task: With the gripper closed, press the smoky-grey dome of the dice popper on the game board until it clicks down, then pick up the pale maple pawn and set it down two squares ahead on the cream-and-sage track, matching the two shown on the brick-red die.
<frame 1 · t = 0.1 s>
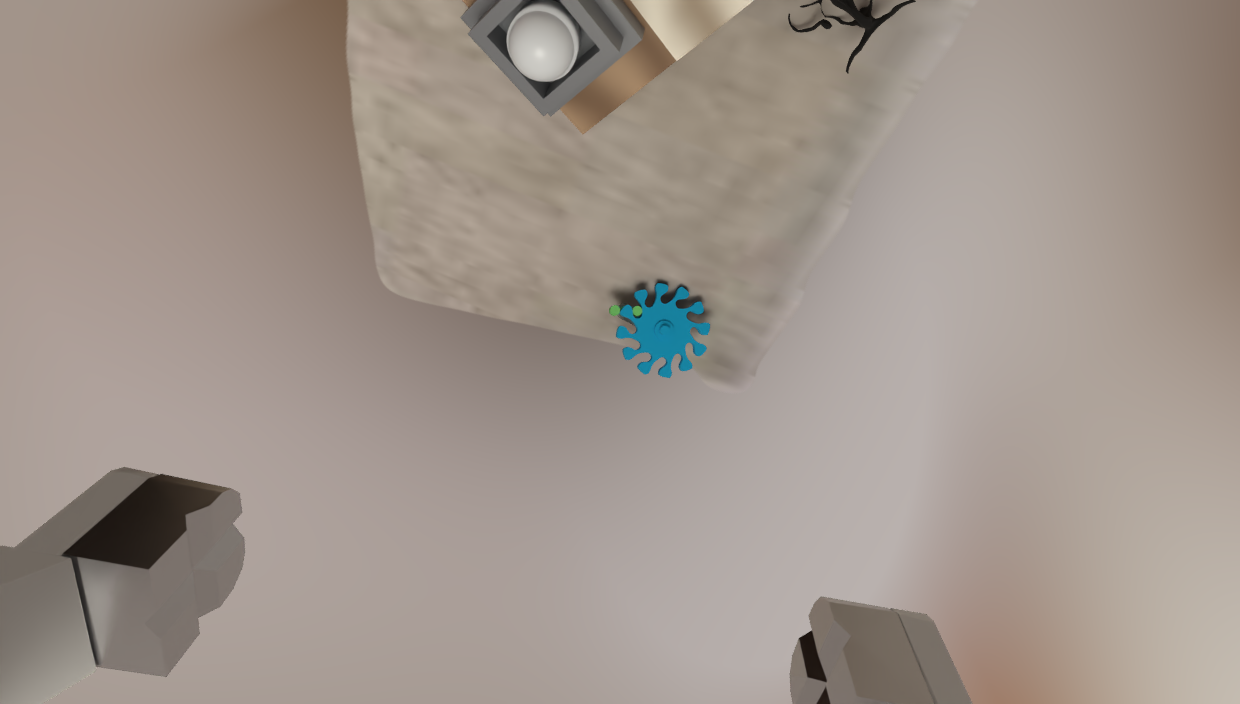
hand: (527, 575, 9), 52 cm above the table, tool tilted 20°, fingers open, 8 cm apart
blue lobed plastic figure: (660, 304, 74), on the table
dome: (541, 46, 49), point 7 cm above the table, slide at 0.0 cm
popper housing: (557, 15, 54), resting on board
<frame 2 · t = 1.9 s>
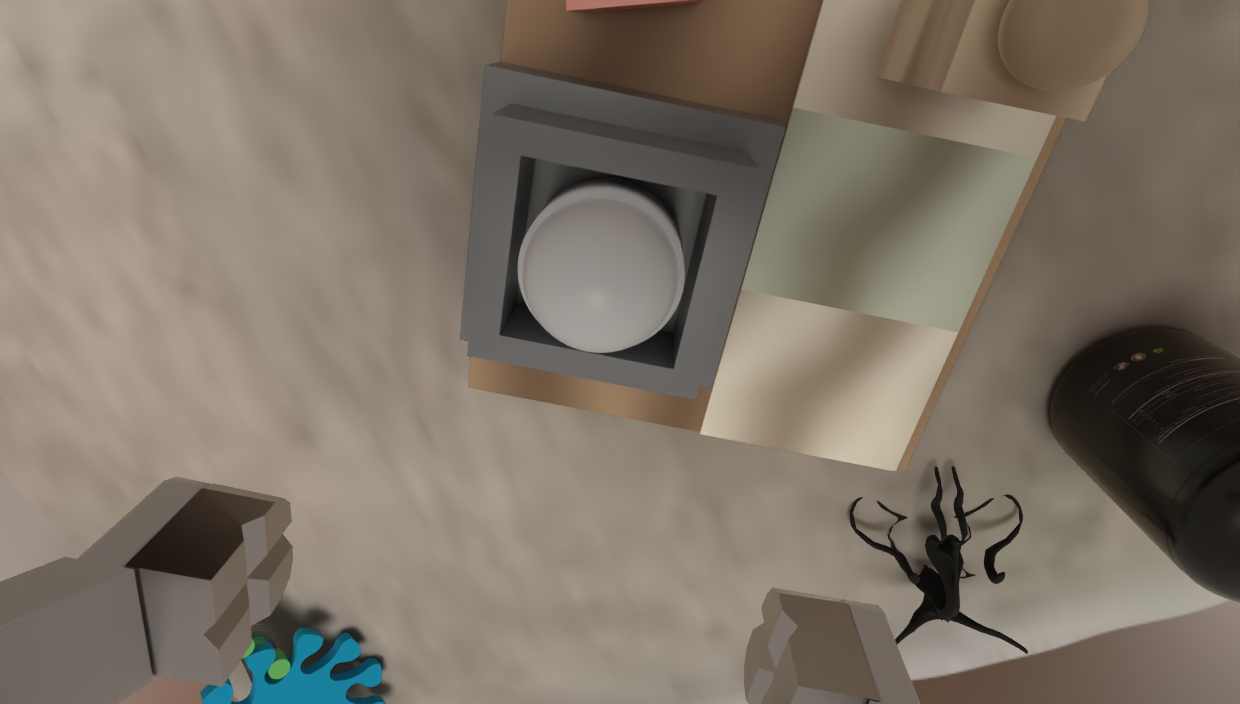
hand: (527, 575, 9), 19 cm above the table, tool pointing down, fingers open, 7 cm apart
creature: (926, 519, 33), on the table
blue lobed plastic figure: (319, 653, 39), on the table
dome: (600, 275, 21), point 7 cm above the table, slide at 0.0 cm
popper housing: (614, 220, 27), resting on board
board: (750, 196, 26), on the table
pawn: (955, 25, 22), point 1 cm above the table, touching board
supplement bottle: (1125, 391, 29), on the table
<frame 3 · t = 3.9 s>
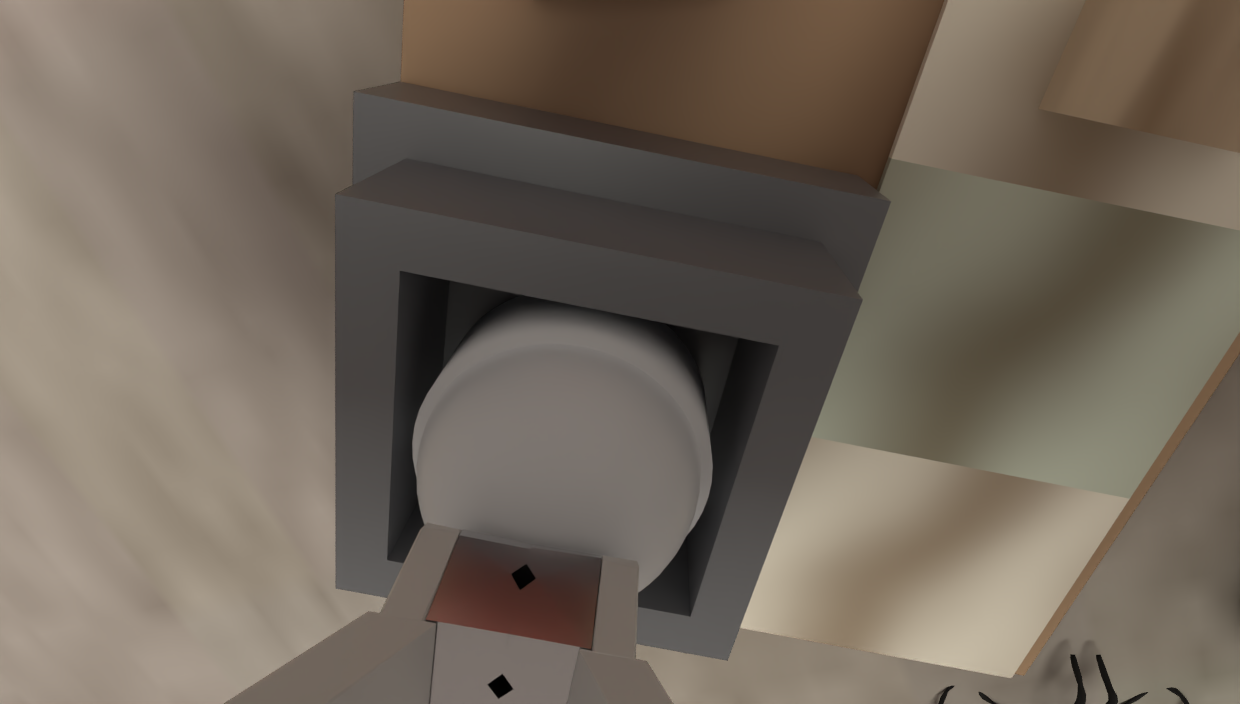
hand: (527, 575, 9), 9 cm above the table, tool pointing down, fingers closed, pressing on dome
dome: (561, 469, 12), point 6 cm above the table, slide at -0.5 cm, touching gripper
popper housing: (594, 326, 17), resting on board
board: (809, 292, 16), on the table
pawn: (1187, 20, 13), point 1 cm above the table, touching board
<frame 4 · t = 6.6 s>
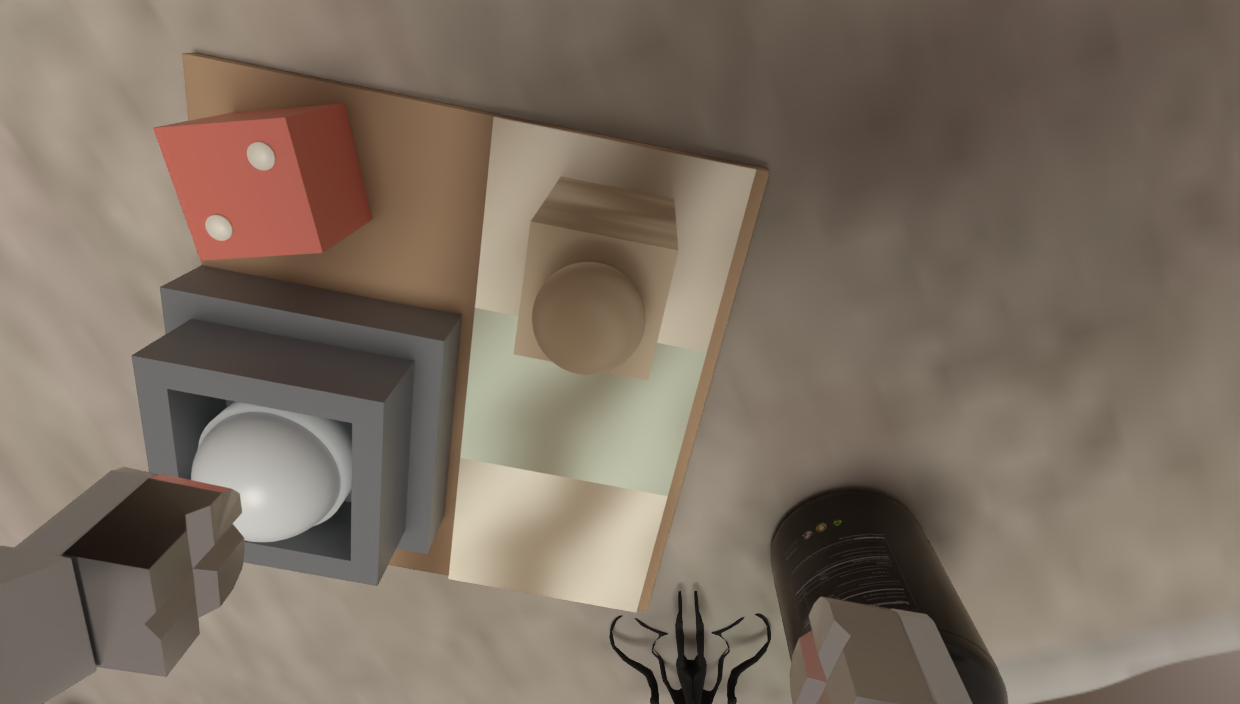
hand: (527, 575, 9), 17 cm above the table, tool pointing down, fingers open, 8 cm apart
creature: (689, 633, 34), on the table
die: (304, 167, 24), point 1 cm above the table, touching board
dome: (272, 471, 24), point 5 cm above the table, slide at -1.1 cm
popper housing: (339, 394, 28), resting on board
board: (460, 375, 28), on the table
pawn: (607, 242, 24), point 1 cm above the table, touching board
supplement bottle: (842, 541, 31), on the table
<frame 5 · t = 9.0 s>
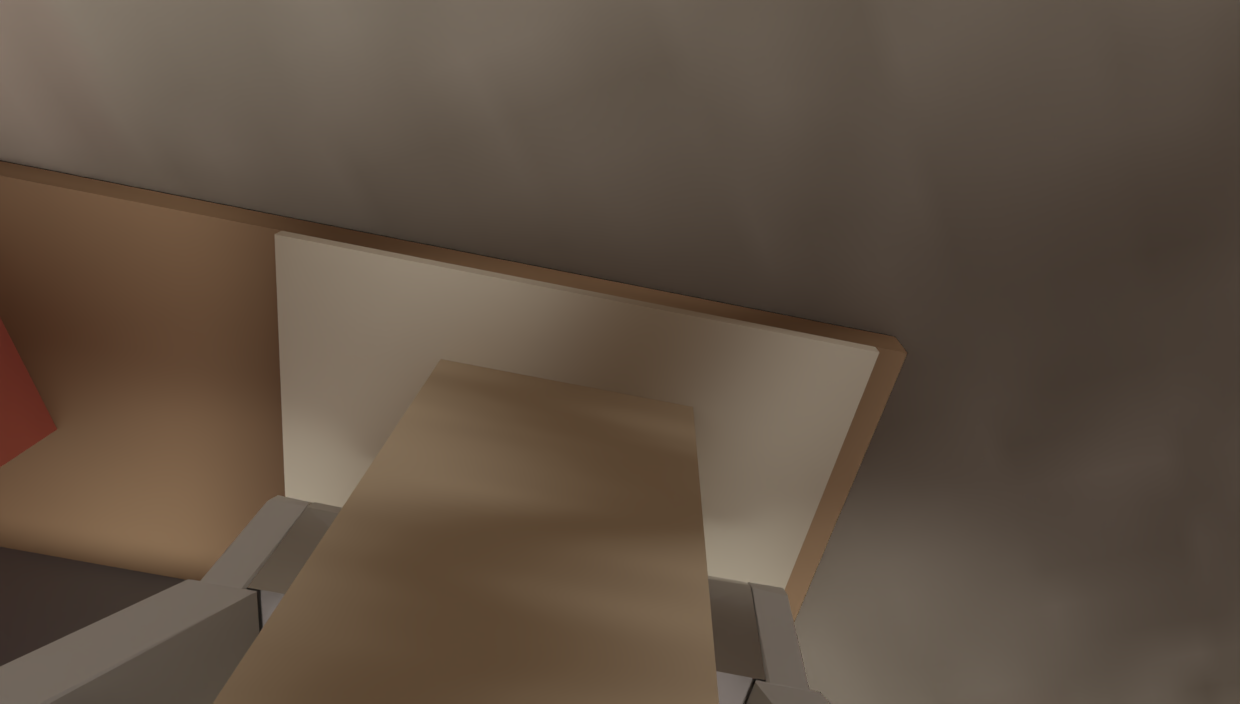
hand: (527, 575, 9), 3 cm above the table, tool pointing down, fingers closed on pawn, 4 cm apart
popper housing: (77, 692, 16), resting on board
board: (289, 671, 15), on the table
pawn: (549, 485, 11), point 1 cm above the table, touching board, gripper
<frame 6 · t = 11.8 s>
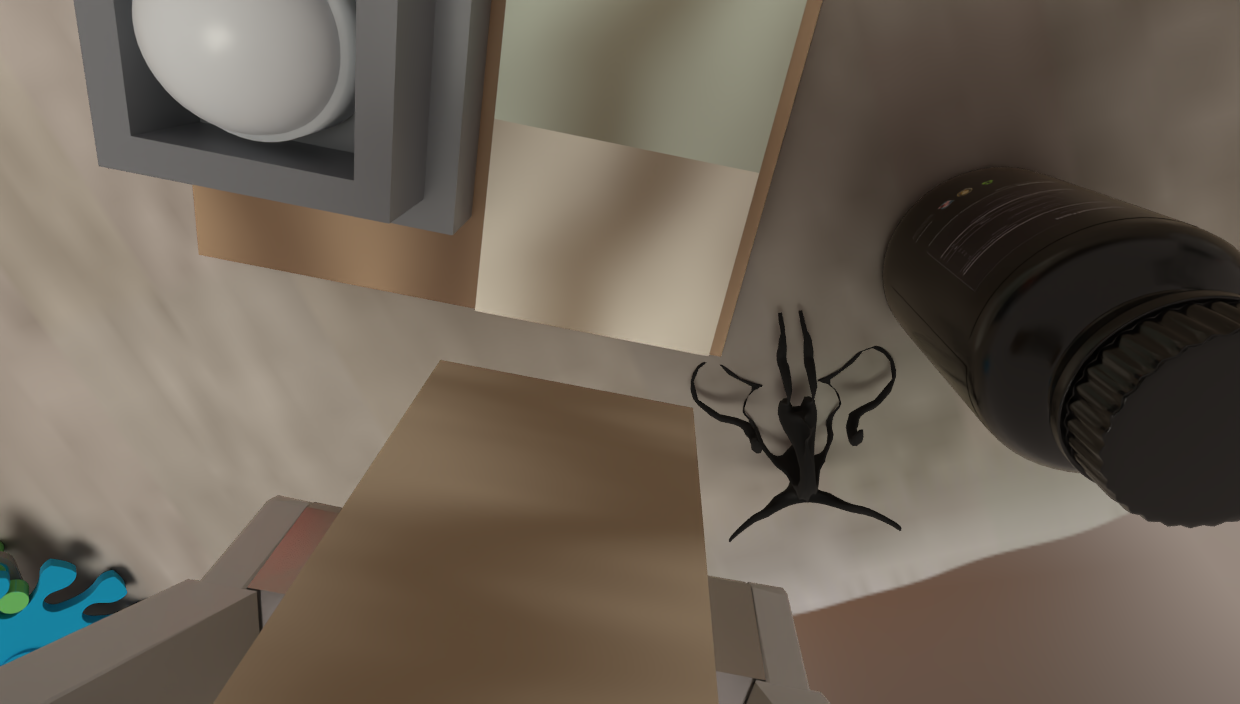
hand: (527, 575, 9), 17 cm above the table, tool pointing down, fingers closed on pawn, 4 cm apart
creature: (788, 387, 27), on the table
blue lobed plastic figure: (85, 592, 35), on the table
dome: (247, 37, 17), point 5 cm above the table, slide at -1.1 cm
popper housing: (339, 35, 22), resting on board
pawn: (549, 486, 11), point 15 cm above the table, touching gripper
supplement bottle: (972, 255, 24), on the table
when the fingers open (5 cm above the table, at t = 14.7 s): pawn drops 2 cm, resting on board.
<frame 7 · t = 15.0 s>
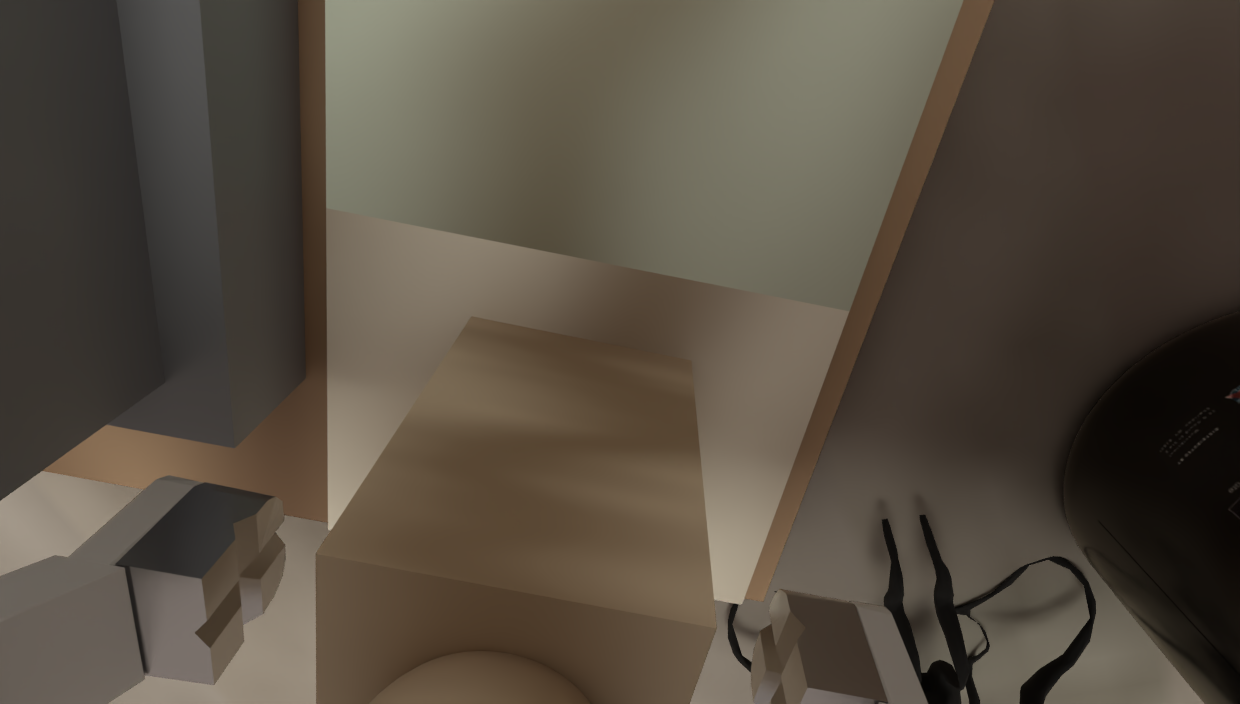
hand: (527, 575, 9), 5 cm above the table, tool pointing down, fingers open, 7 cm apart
creature: (894, 616, 16), on the table
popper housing: (15, 42, 11), resting on board
pawn: (564, 431, 13), point 1 cm above the table, touching board
supplement bottle: (1225, 441, 13), on the table
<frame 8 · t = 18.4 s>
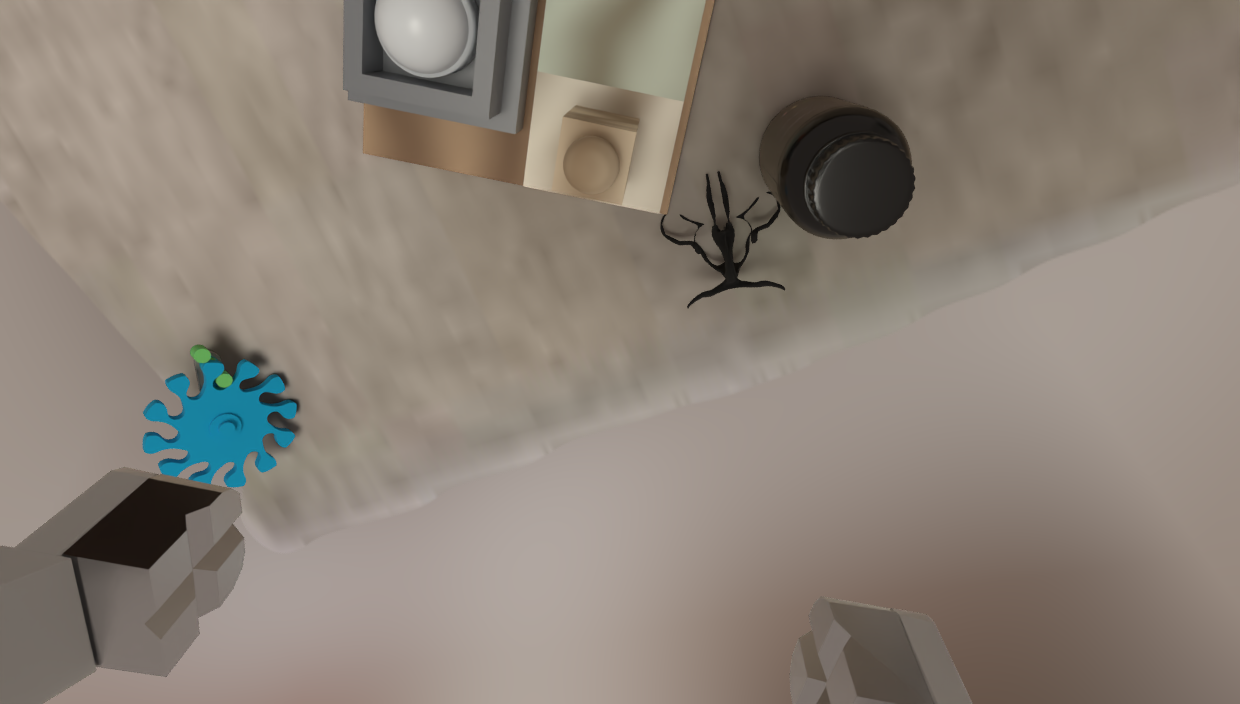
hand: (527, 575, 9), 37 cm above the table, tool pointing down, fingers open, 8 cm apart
creature: (720, 225, 45), on the table, touching board
blue lobed plastic figure: (251, 392, 53), on the table
dome: (423, 24, 35), point 5 cm above the table, slide at -1.1 cm
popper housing: (452, 25, 40), resting on board
board: (539, 5, 40), on the table
pawn: (601, 145, 42), point 1 cm above the table, touching board
supplement bottle: (811, 150, 42), on the table
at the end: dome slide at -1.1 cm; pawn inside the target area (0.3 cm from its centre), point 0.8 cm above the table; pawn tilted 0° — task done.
